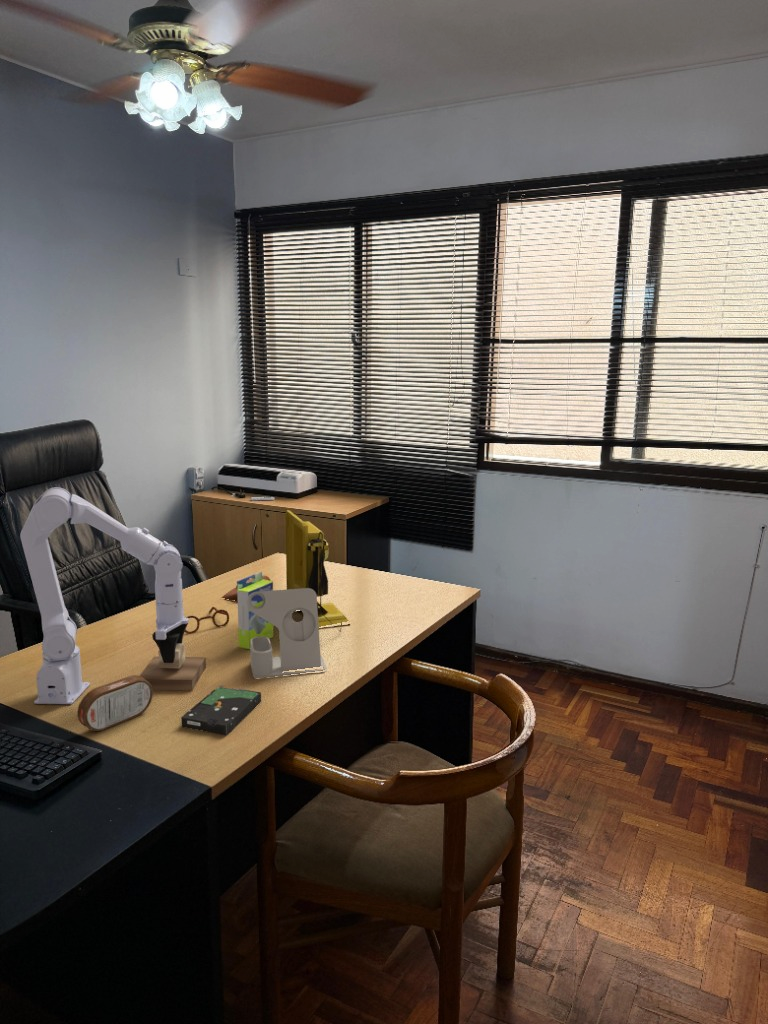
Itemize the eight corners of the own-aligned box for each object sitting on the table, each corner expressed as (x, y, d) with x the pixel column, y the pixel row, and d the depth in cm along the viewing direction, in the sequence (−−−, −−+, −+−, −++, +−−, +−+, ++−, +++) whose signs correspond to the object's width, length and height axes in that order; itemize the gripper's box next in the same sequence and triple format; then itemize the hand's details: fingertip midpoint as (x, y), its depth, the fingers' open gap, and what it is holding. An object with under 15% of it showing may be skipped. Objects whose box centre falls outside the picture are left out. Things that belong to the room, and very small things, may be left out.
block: (179, 668, 157) (178, 651, 156) (159, 667, 157) (158, 651, 156) (185, 659, 161) (184, 643, 160) (165, 659, 161) (164, 643, 160)
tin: (147, 706, 147) (145, 668, 145) (156, 710, 145) (154, 672, 143) (77, 734, 135) (74, 693, 133) (86, 739, 133) (83, 698, 131)
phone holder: (252, 679, 159) (250, 604, 156) (248, 661, 169) (246, 590, 165) (327, 672, 164) (327, 598, 160) (319, 655, 173) (319, 585, 170)
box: (249, 650, 176) (248, 584, 172) (236, 647, 177) (234, 581, 174) (275, 636, 185) (274, 573, 181) (262, 633, 187) (261, 570, 183)
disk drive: (228, 738, 136) (262, 703, 149) (227, 725, 135) (261, 691, 149) (180, 730, 138) (218, 696, 152) (180, 717, 138) (217, 684, 152)
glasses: (183, 636, 184) (182, 618, 183) (165, 622, 195) (165, 604, 194) (230, 626, 192) (229, 609, 191) (210, 612, 202) (210, 596, 201)
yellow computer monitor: (362, 637, 185) (364, 526, 179) (311, 644, 180) (311, 530, 174) (327, 600, 214) (327, 503, 207) (282, 605, 208) (281, 506, 202)
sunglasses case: (247, 582, 229) (256, 566, 227) (264, 595, 228) (273, 579, 226) (218, 599, 212) (228, 582, 210) (236, 613, 211) (246, 596, 209)
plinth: (192, 690, 154) (192, 679, 153) (137, 689, 154) (136, 678, 153) (206, 667, 165) (205, 657, 165) (154, 666, 165) (154, 656, 165)
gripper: (177, 611, 149) (180, 671, 151) (195, 590, 163) (198, 645, 166) (144, 611, 148) (147, 671, 151) (165, 589, 163) (168, 644, 165)
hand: (171, 657), depth 158 cm, fingers closed on block, 4 cm apart
